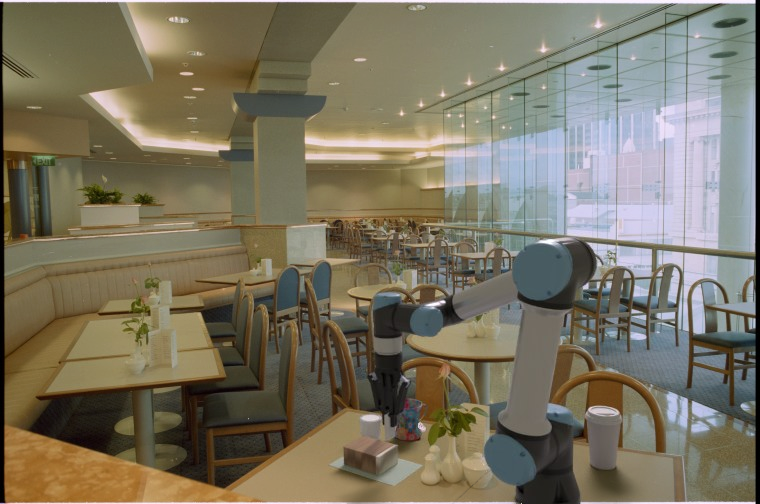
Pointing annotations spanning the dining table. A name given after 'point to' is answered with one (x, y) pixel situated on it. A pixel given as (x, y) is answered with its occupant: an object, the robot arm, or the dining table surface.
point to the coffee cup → (603, 436)
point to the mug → (409, 421)
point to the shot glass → (370, 425)
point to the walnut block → (371, 455)
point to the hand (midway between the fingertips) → (389, 437)
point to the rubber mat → (389, 476)
